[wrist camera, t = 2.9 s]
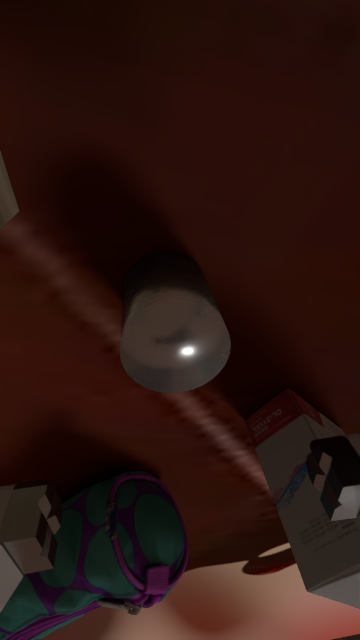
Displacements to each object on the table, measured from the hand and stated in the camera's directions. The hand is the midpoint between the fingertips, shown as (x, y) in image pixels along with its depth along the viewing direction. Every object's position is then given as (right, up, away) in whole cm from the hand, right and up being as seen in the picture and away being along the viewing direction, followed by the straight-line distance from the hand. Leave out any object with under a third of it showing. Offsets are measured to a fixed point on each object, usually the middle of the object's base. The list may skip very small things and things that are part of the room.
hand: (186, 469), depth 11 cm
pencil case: (-11, -14, +22) cm, 28 cm away
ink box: (+10, -4, +18) cm, 21 cm away
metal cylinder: (-1, +6, +10) cm, 12 cm away
